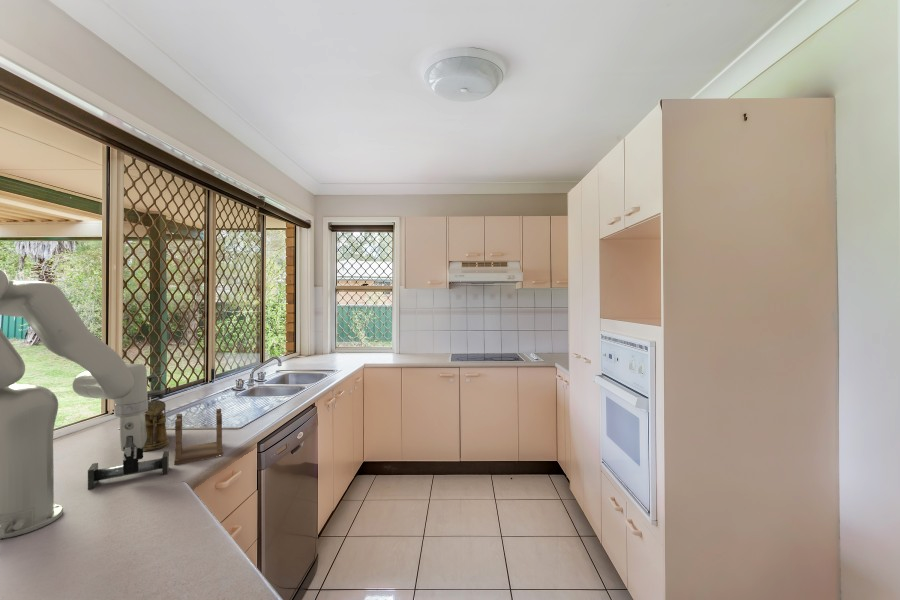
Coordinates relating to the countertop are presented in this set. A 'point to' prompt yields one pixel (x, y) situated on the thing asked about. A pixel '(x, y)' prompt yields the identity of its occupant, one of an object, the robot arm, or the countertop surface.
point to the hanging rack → (197, 450)
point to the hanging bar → (117, 471)
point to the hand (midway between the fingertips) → (133, 466)
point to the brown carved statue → (155, 426)
